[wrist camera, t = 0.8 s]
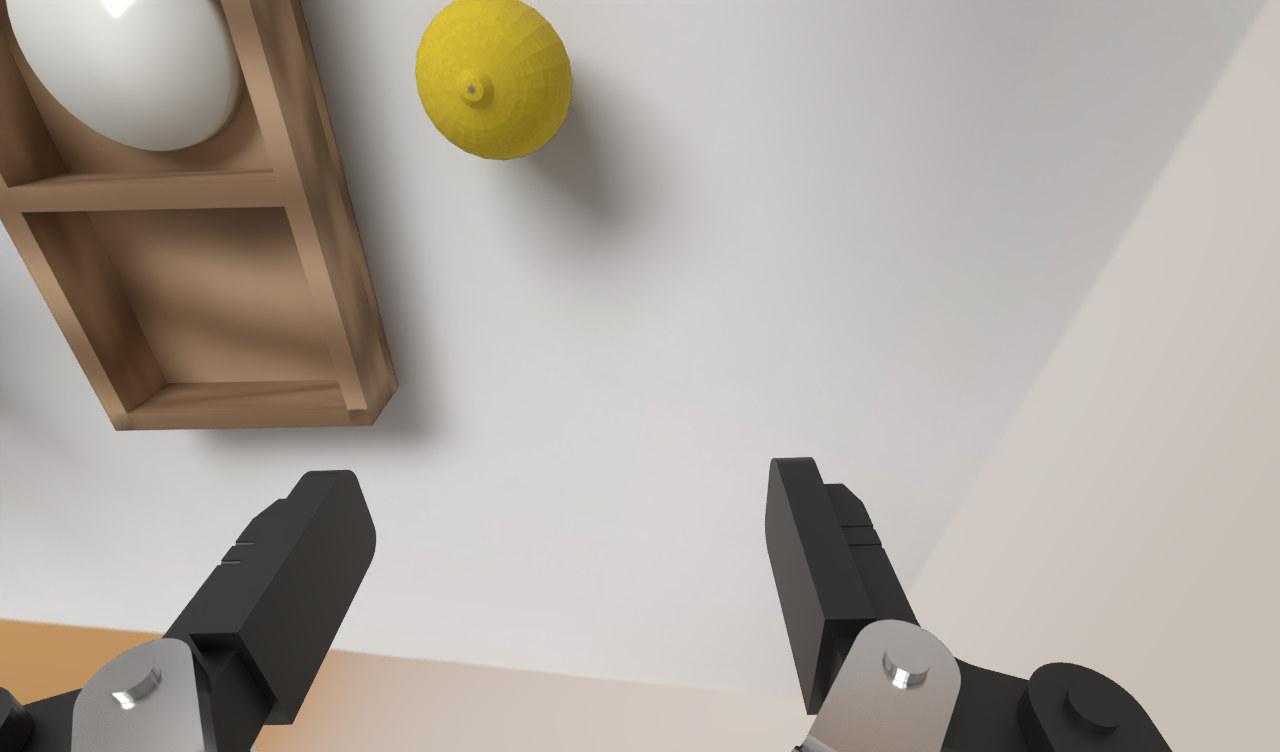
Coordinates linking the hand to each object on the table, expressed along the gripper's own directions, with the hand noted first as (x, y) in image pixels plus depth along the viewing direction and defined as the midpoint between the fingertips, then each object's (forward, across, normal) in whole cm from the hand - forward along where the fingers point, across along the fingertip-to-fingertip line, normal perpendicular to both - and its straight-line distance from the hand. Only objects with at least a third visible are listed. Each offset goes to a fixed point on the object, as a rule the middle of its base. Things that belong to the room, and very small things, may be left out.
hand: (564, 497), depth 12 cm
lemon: (+20, +4, -6) cm, 22 cm away
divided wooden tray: (+20, +19, -2) cm, 28 cm away
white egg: (+19, +19, -8) cm, 28 cm away
